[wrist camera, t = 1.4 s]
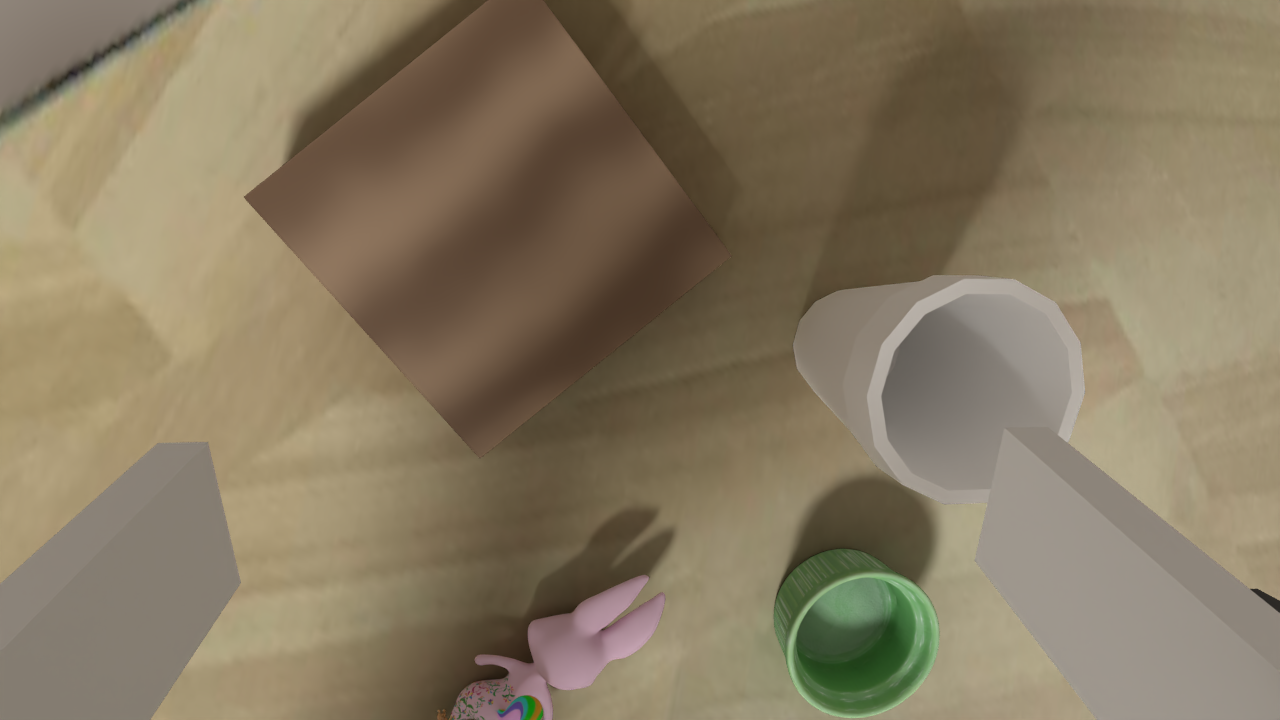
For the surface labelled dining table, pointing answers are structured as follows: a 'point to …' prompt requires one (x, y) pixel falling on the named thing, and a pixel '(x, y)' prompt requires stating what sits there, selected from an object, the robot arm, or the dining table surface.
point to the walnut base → (492, 220)
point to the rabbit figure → (562, 655)
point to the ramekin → (854, 633)
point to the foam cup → (942, 374)
